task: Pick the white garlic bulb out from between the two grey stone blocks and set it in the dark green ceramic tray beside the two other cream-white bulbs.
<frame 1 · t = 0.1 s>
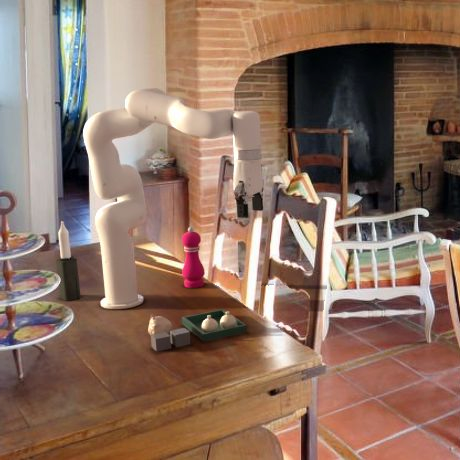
hand: (250, 213, 231), 31 cm above the table, tool pointing down, fingers open, 9 cm apart
green tray: (214, 329, 227), on the table
pepper mill: (194, 285, 267), on the table
grey block B: (180, 345, 216), on the table
white bulb B: (228, 329, 226), point 1 cm above the table, touching green tray
white bulb A: (210, 333, 222), point 1 cm above the table, touching green tray
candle: (70, 298, 254), on the table
grey block A: (161, 349, 213), on the table
garlic bulb: (160, 338, 221), on the table
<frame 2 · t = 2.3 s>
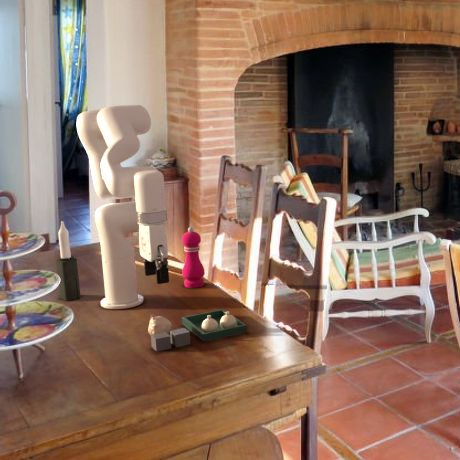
hand: (157, 278, 217), 17 cm above the table, tool pointing down, fingers open, 9 cm apart
nothing on the table moved.
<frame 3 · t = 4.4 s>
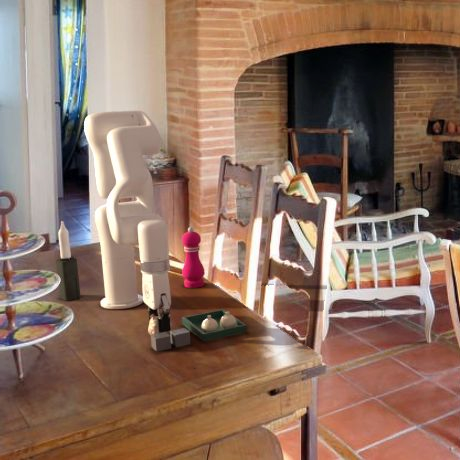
hand: (159, 327, 220), 3 cm above the table, tool pointing down, fingers closed on garlic bulb, 6 cm apart
garlic bulb: (160, 338, 221), on the table, touching gripper
everything else where it was.
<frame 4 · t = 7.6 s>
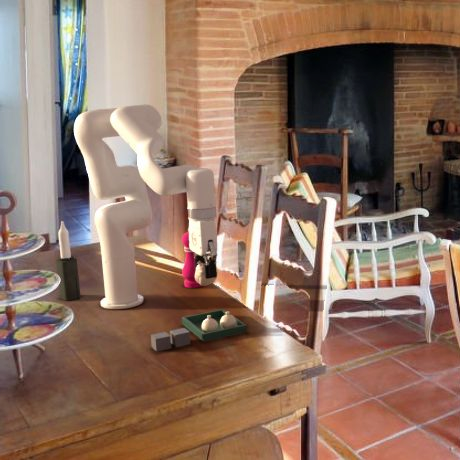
hand: (206, 274, 226), 16 cm above the table, tool pointing down, fingers closed on garlic bulb, 6 cm apart
garlic bulb: (206, 285, 227), point 12 cm above the table, touching gripper
everything else where it was.
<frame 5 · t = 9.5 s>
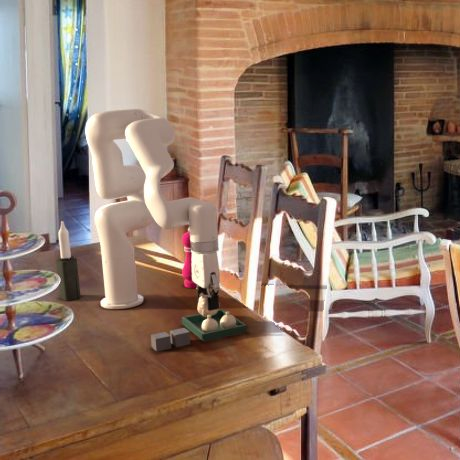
hand: (208, 305, 228), 6 cm above the table, tool pointing down, fingers closed on garlic bulb, 6 cm apart
garlic bulb: (209, 316, 229), point 3 cm above the table, touching gripper
everything else where it was.
when the fingers open (4 cm above the table, at t = 10.9 s): garlic bulb stays where it is, resting on green tray.
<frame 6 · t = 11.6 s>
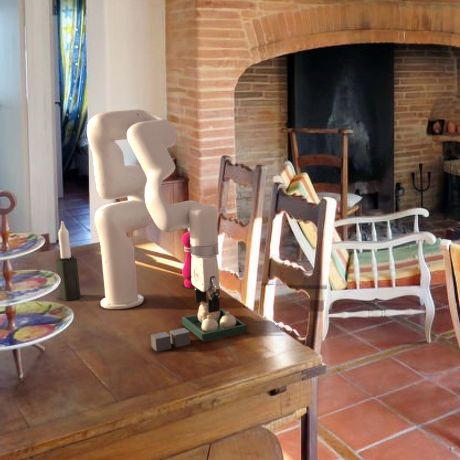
hand: (207, 306, 229), 6 cm above the table, tool pointing down, fingers open, 9 cm apart
garlic bulb: (209, 324, 230), resting on green tray
everything else where it was.
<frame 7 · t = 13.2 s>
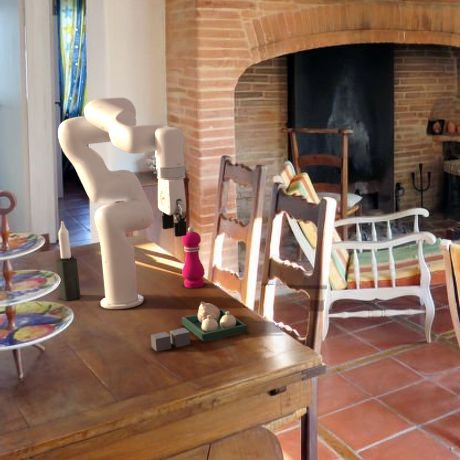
hand: (174, 232, 225), 27 cm above the table, tool pointing down, fingers open, 9 cm apart
nothing on the table moved.
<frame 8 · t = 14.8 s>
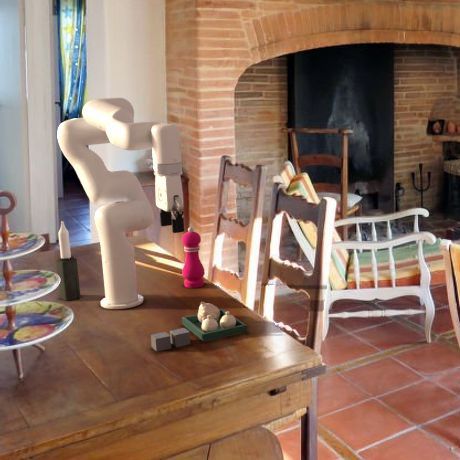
hand: (172, 228, 225), 28 cm above the table, tool pointing down, fingers open, 9 cm apart
nothing on the table moved.
at the end: garlic bulb inside the target area in the green tray (0.5 cm from its centre), point 0.4 cm above the green tray's base; the gripper is holding nothing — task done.
